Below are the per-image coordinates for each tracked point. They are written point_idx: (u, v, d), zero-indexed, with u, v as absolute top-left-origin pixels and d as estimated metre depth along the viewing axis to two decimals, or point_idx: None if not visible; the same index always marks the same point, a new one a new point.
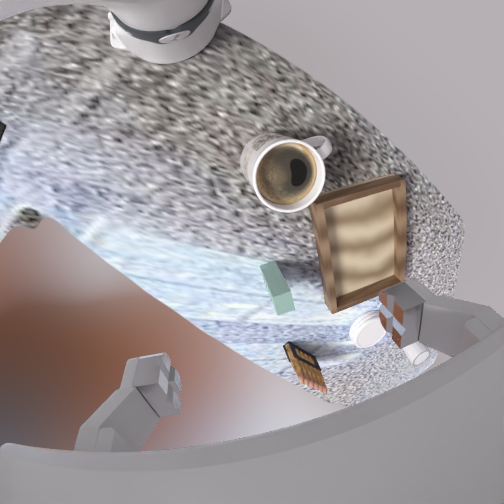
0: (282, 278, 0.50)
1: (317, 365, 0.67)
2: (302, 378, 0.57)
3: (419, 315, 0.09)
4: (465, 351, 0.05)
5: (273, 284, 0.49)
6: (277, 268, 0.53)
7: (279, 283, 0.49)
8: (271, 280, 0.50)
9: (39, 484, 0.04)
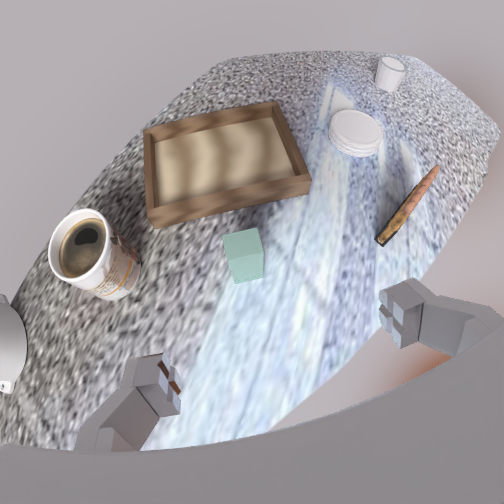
0: None
1: (411, 192, 0.42)
2: (407, 205, 0.33)
3: (419, 314, 0.09)
4: (465, 351, 0.05)
5: None
6: None
7: None
8: None
9: (39, 483, 0.04)
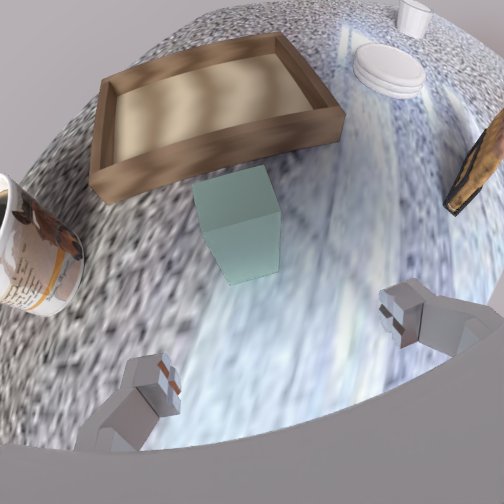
0: None
1: (479, 139, 0.23)
2: (503, 139, 0.15)
3: (419, 314, 0.09)
4: (465, 351, 0.05)
5: None
6: None
7: None
8: None
9: (40, 484, 0.04)
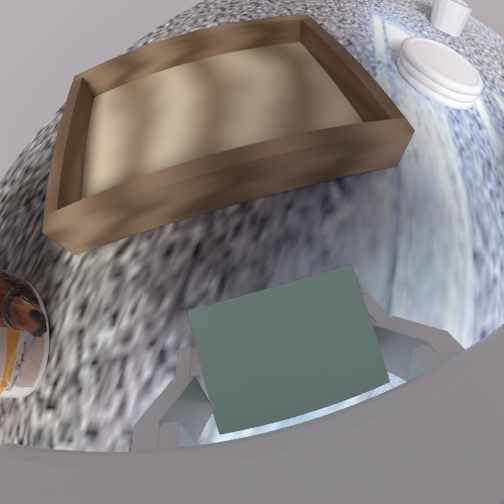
0: None
1: None
2: None
3: None
4: (465, 351, 0.05)
5: None
6: None
7: None
8: None
9: (39, 484, 0.04)
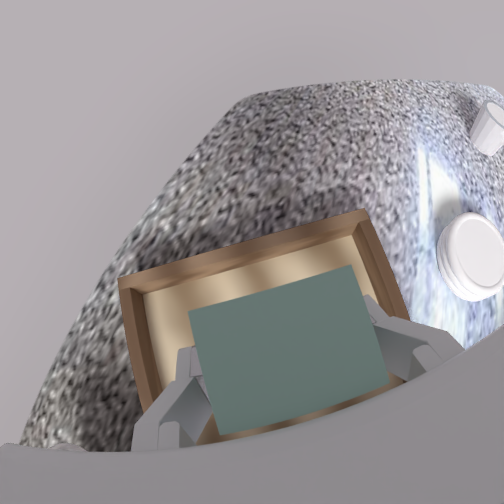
0: None
1: None
2: None
3: None
4: (465, 351, 0.05)
5: None
6: None
7: None
8: None
9: (39, 483, 0.04)
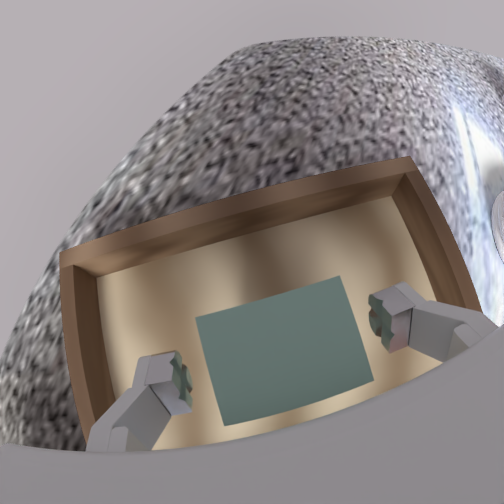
0: None
1: None
2: None
3: (408, 319, 0.09)
4: (465, 351, 0.05)
5: None
6: None
7: None
8: None
9: (40, 484, 0.04)
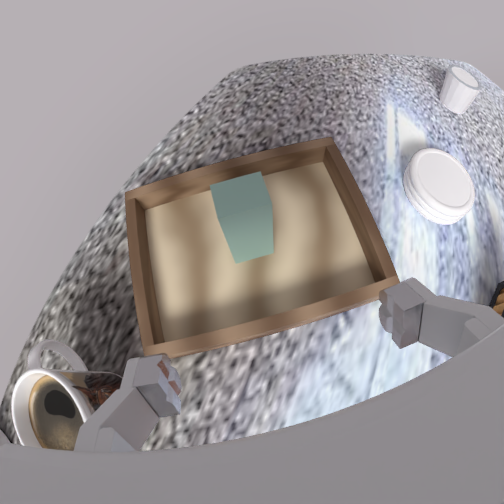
0: None
1: None
2: None
3: (419, 314, 0.09)
4: (465, 351, 0.05)
5: None
6: None
7: None
8: None
9: (39, 484, 0.04)
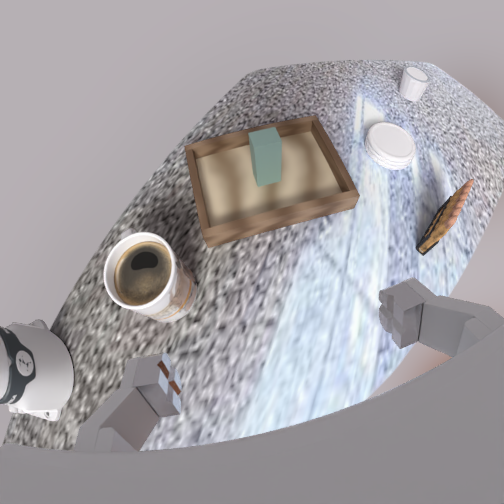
0: (250, 151, 0.43)
1: (445, 202, 0.42)
2: (450, 219, 0.33)
3: (419, 314, 0.09)
4: (465, 351, 0.05)
5: (253, 156, 0.42)
6: (252, 164, 0.47)
7: (251, 150, 0.42)
8: (254, 162, 0.43)
9: (40, 484, 0.04)
